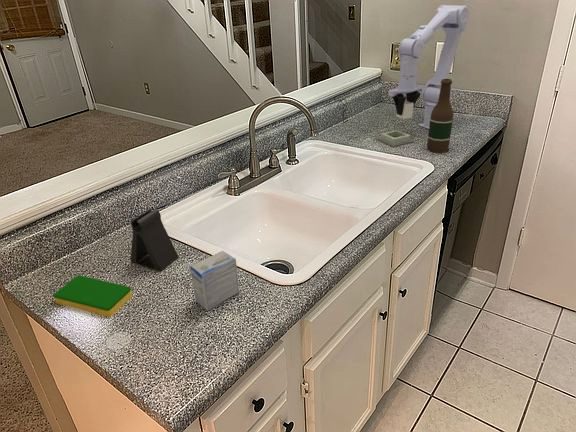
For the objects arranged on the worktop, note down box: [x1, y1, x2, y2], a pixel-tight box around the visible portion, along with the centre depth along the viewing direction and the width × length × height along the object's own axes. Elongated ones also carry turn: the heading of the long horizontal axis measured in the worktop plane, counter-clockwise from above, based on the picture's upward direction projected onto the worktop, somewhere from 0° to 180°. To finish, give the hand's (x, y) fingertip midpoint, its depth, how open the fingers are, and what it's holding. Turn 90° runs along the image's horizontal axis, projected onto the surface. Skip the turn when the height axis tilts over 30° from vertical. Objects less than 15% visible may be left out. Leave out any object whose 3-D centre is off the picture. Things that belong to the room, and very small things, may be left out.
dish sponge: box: [53, 275, 133, 318], centre depth 91 cm, size 7×14×2 cm, turn 70°
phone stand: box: [130, 207, 179, 273], centre depth 100 cm, size 9×6×12 cm, turn 63°
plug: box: [396, 100, 415, 121], centre depth 163 cm, size 4×4×6 cm
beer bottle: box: [426, 78, 454, 154], centre depth 152 cm, size 8×8×24 cm
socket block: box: [375, 129, 416, 148], centre depth 166 cm, size 10×10×2 cm
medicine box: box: [189, 250, 240, 311], centre depth 88 cm, size 8×4×9 cm, turn 133°
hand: (404, 113), depth 164 cm, fingers closed on plug, 4 cm apart
